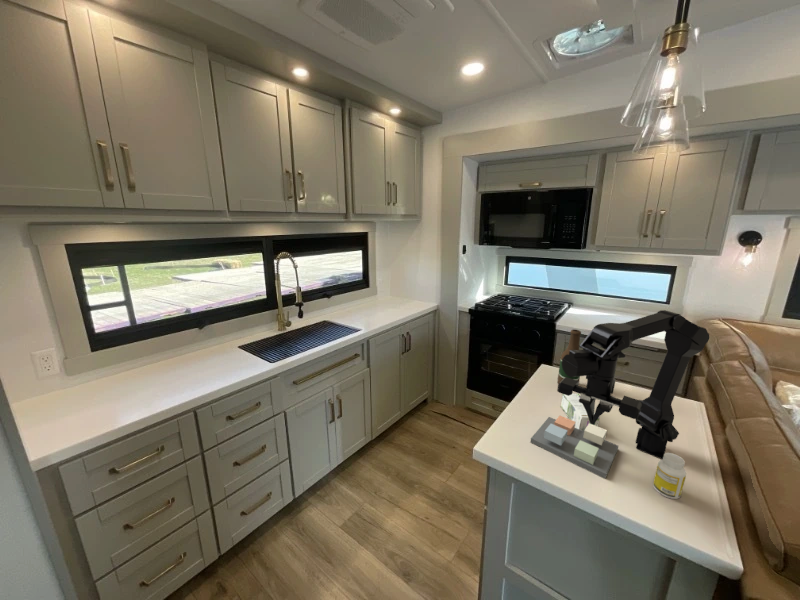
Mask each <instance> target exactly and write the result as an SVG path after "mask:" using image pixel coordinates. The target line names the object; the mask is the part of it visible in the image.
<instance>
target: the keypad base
mask: <svg viewBox="0 0 800 600" xmlns="http://www.w3.org/2000/svg"><path fill="white" fill-rule="evenodd" d="M555 421H556V419H555V418H553V417H550V416H548V417H547V418H546V419H545V421H544V422H543V423H542V425H541V426H539V428H538V429H537V430H536V431H535V432H534V434H533V435H532V436H531V438H530V442H529V443H531V444H533V445H534V446H537V447H538V448H541V449H543V450H545V451H546V452H548V453H549V452H550V453H551V454H553V455H556V456H557V457H560V458H561V459H563V460H566V461H567V462H570V463H572V464H574V465H576V466H577V467H580V468H582V469H585V470H586V471H588V472H590V473H593V474H595V475H597V476H598V477H601V478H603V479H606V478H607V476H608V474H609V471H610V469H611V467H612V464H613V462H614V460H615V457H616V455H617V453H618V451H619V445H618V444H616V443H613V442H611V441H609V440H606V439H604V441H603V443H602V445H599V444H597V443H595V442H592V441H590V440H588V439H585V438H583V436H584V431H582V430H580V429H577V428H576V427H575V429H574V430H573V432H572V433H571V435H570V436H569V435H567V437H566V439H565V440H564V442H563V443H562V445H561V446H560V445H558V444H556V443H554V442H552V441H550V440H547V439H545V438H544V434H545V430H546V429H547V428H548V426H549V425H550V424H553V425H554V422H555ZM580 440H581V441H583V442H586V443H588V444H590V445H592V446H595V447H597V448H599V450H598V456H597V458H596V460H595V462H594V464H593V465H592V464H590V463H588V462H585V461H583V460H581V459H579V458H577V457H575V456H574V451H575V448H576V446H577V444H578V443H579V441H580Z"/></svg>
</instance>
